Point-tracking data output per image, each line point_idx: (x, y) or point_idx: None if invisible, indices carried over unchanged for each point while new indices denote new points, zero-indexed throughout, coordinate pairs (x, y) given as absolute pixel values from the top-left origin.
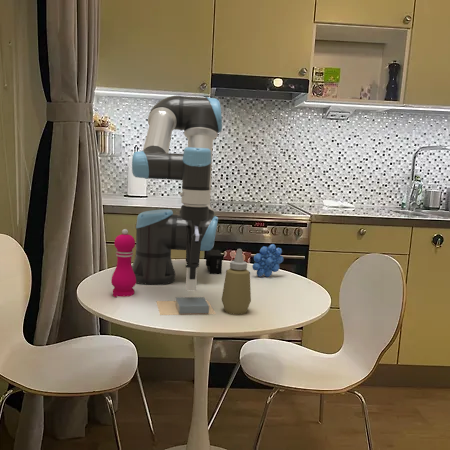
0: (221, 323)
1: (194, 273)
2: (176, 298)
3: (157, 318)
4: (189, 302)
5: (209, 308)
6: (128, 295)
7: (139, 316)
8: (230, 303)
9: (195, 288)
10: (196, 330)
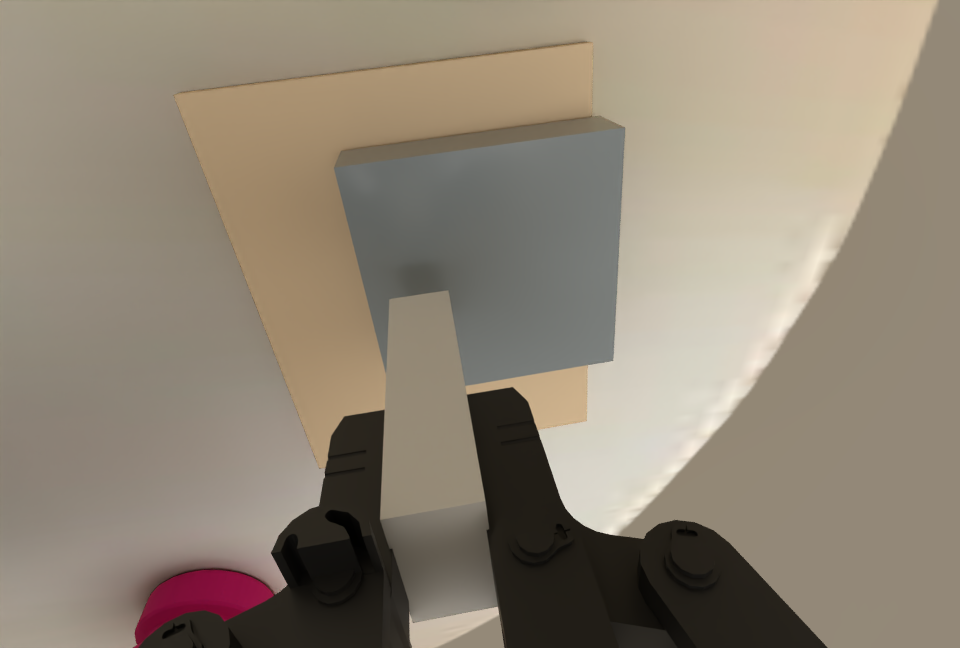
0: (765, 5)
1: (541, 457)
2: None
3: (600, 419)
4: (517, 298)
5: (440, 95)
6: (255, 593)
7: (564, 491)
8: None
9: (450, 308)
10: (838, 212)
